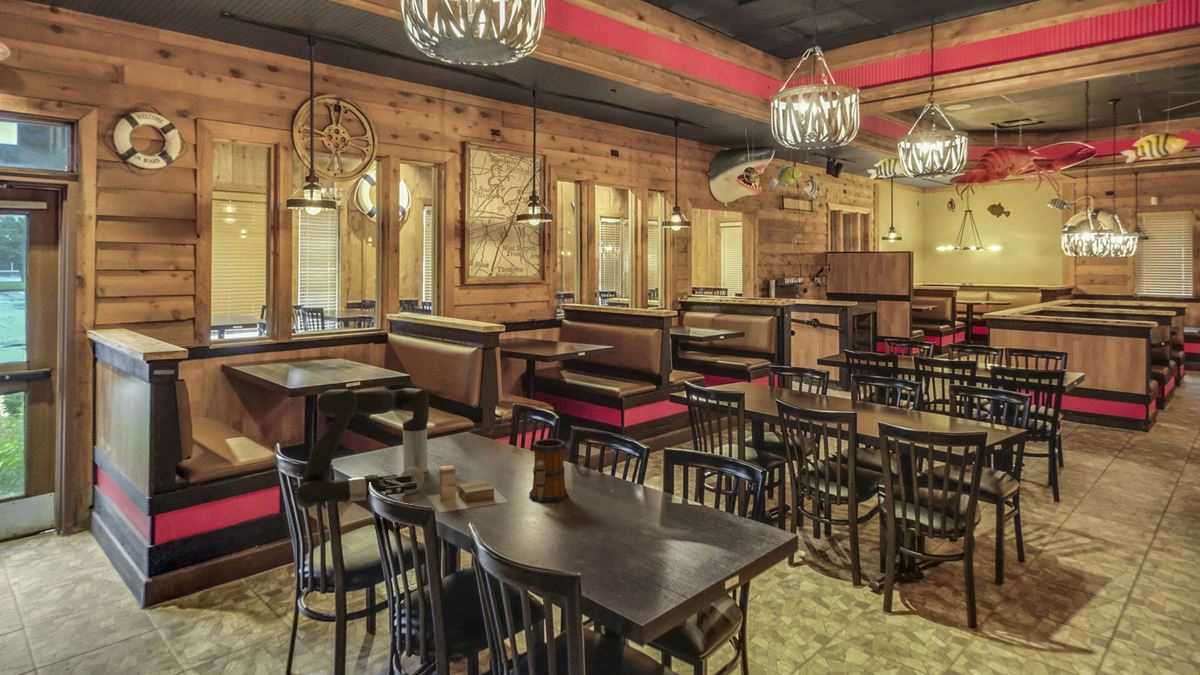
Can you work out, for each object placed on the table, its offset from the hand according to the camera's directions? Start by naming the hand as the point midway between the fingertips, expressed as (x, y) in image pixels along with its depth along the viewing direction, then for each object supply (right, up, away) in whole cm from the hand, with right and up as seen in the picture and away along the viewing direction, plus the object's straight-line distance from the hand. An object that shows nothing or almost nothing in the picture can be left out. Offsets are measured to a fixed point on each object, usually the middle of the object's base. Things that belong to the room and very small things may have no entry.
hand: (413, 481), depth 231 cm
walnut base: (+19, -8, +11) cm, 23 cm away
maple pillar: (+10, -8, +6) cm, 14 cm away
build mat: (+16, -8, +9) cm, 21 cm away
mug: (+44, -9, +10) cm, 46 cm away
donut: (-5, -8, +16) cm, 18 cm away
